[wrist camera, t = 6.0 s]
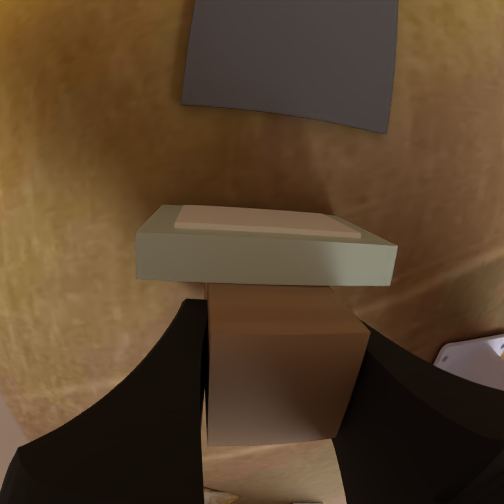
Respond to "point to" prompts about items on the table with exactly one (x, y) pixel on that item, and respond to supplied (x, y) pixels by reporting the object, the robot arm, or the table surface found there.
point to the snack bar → (218, 497)
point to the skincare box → (307, 503)
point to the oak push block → (278, 363)
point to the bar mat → (295, 58)
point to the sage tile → (259, 248)
